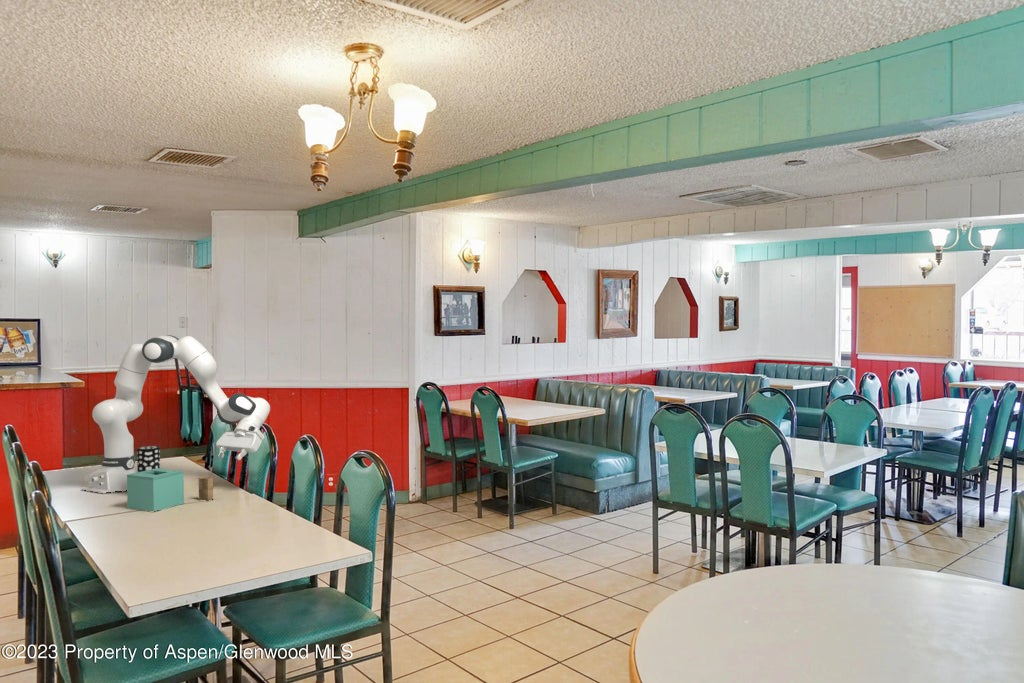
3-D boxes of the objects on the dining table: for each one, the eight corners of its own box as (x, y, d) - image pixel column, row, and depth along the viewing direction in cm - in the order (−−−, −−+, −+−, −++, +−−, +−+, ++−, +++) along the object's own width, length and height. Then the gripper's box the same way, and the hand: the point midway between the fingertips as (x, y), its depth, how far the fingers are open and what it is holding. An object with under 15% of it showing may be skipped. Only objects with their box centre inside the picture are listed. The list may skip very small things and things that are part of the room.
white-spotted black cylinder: (165, 494, 302) (164, 446, 302) (149, 499, 295) (148, 449, 294) (149, 493, 305) (148, 445, 305) (133, 497, 297) (132, 448, 297)
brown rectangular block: (198, 500, 293) (198, 477, 293) (203, 498, 295) (203, 476, 295) (208, 501, 291) (207, 479, 291) (213, 500, 293) (212, 477, 293)
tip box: (127, 508, 280) (126, 474, 280) (158, 500, 293) (157, 468, 292) (153, 512, 274) (153, 477, 274) (184, 503, 287) (183, 470, 287)
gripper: (223, 425, 315) (205, 452, 306) (260, 428, 306) (243, 455, 298) (231, 434, 319) (214, 460, 310) (267, 437, 311) (251, 464, 302)
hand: (228, 458), depth 304 cm, fingers open, 8 cm apart
